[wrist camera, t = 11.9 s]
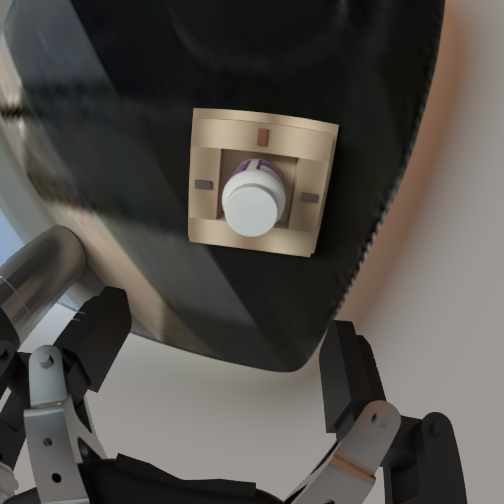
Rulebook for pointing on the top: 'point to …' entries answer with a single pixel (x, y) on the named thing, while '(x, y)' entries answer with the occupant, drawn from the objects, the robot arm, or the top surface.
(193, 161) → the holder
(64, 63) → the top surface
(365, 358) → the robot arm
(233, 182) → the pill bottle
